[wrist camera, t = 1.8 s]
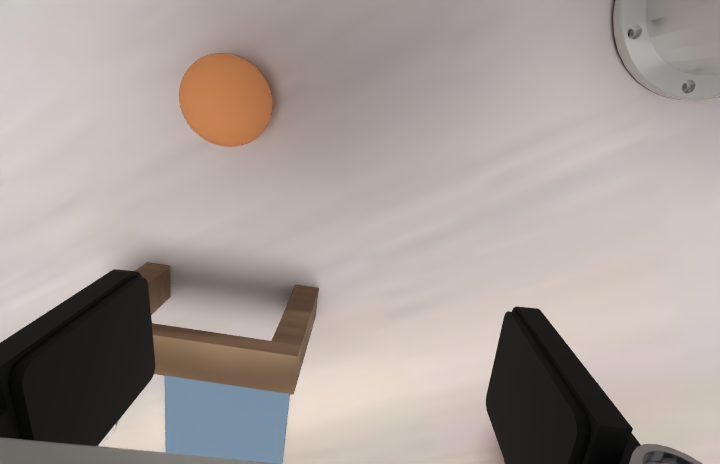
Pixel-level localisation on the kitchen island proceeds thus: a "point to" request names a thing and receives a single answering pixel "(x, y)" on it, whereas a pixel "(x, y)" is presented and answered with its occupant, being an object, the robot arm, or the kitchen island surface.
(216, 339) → the bridge
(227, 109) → the ball
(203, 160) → the kitchen island surface
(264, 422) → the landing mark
